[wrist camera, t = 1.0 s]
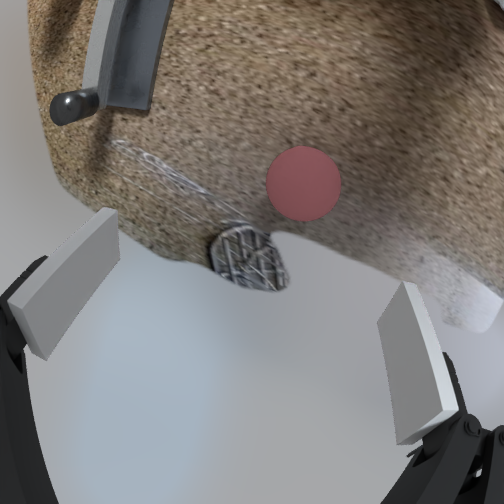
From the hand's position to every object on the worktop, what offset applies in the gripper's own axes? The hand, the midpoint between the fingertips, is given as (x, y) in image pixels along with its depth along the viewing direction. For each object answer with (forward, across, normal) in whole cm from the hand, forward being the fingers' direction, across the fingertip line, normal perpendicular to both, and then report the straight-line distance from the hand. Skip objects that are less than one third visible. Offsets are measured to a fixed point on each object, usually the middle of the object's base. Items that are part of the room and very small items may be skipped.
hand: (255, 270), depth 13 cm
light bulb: (+26, +3, -2) cm, 26 cm away
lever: (+24, -23, +14) cm, 36 cm away
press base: (+25, -21, +14) cm, 36 cm away
